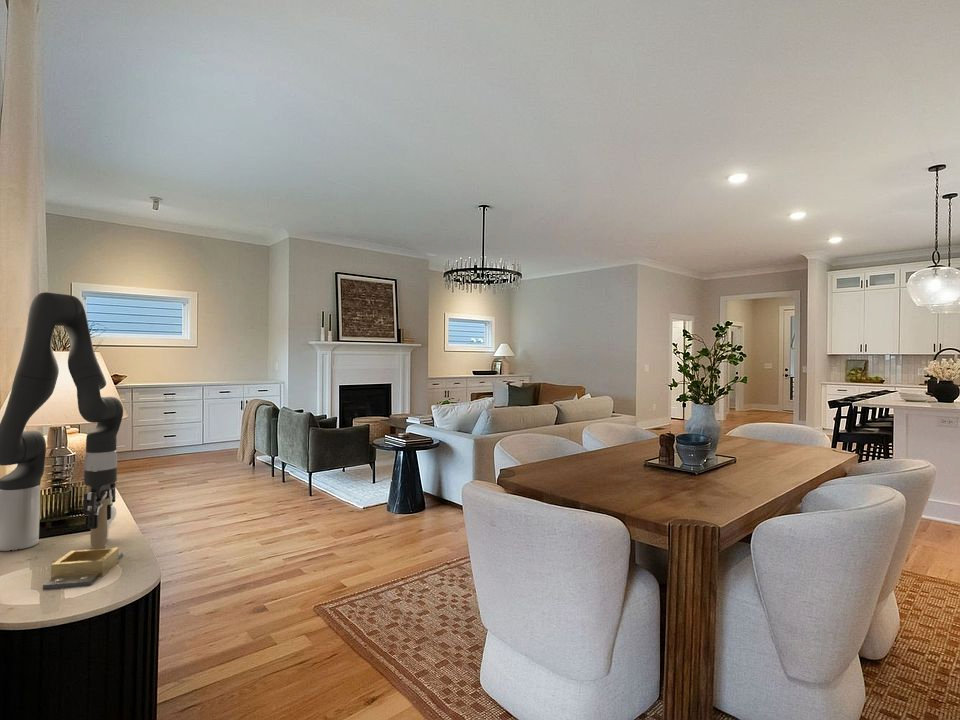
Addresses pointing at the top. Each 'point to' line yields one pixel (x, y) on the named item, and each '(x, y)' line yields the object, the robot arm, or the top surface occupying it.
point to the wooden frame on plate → (82, 567)
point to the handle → (100, 527)
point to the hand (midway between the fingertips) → (99, 524)
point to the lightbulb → (113, 515)
